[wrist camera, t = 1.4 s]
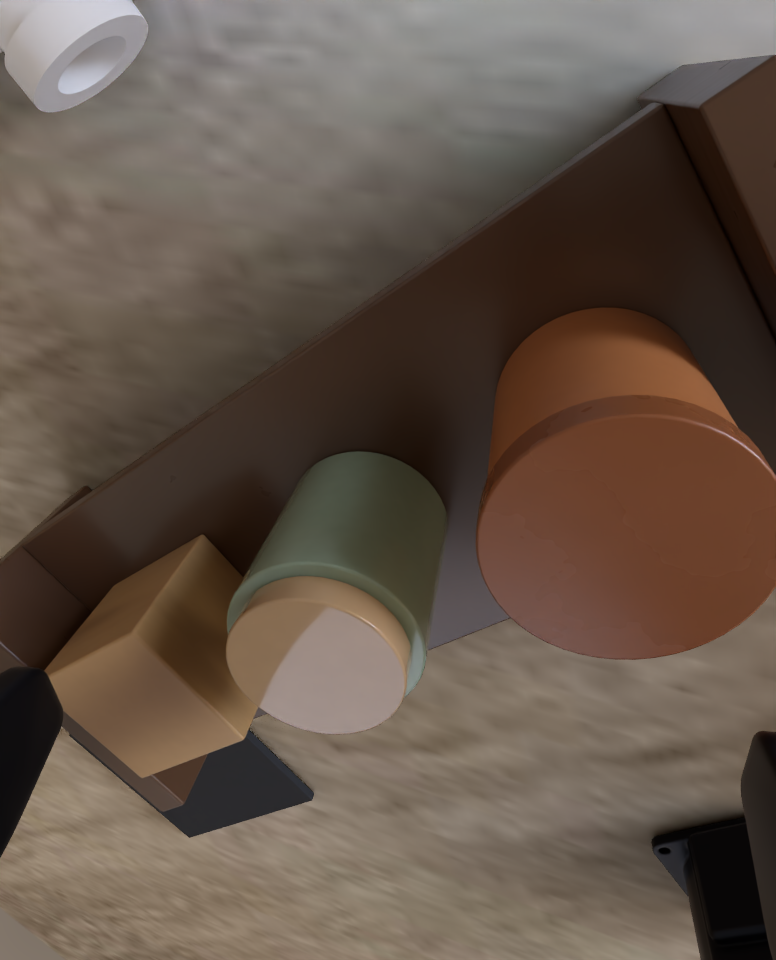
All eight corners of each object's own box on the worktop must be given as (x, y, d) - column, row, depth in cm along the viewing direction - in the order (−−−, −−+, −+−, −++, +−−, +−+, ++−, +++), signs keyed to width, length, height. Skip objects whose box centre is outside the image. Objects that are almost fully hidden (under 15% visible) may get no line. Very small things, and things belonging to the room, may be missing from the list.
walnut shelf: (835, 397, 19) (975, 540, 13) (235, 666, 29) (161, 813, 23) (683, 63, 16) (779, 51, 10) (68, 497, 26) (-67, 619, 20)
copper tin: (741, 436, 16) (842, 601, 11) (552, 520, 18) (563, 692, 13) (647, 257, 14) (714, 353, 9) (452, 373, 16) (419, 502, 11)
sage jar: (479, 547, 19) (463, 710, 14) (354, 604, 21) (300, 765, 16) (385, 421, 17) (331, 553, 13) (259, 495, 19) (169, 635, 14)
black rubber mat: (314, 793, 33) (312, 800, 33) (192, 831, 37) (189, 838, 37) (192, 674, 30) (188, 681, 30) (73, 729, 34) (68, 735, 34)
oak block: (292, 629, 22) (245, 741, 18) (201, 670, 24) (141, 780, 20) (203, 532, 20) (131, 632, 17) (113, 584, 22) (31, 685, 19)
